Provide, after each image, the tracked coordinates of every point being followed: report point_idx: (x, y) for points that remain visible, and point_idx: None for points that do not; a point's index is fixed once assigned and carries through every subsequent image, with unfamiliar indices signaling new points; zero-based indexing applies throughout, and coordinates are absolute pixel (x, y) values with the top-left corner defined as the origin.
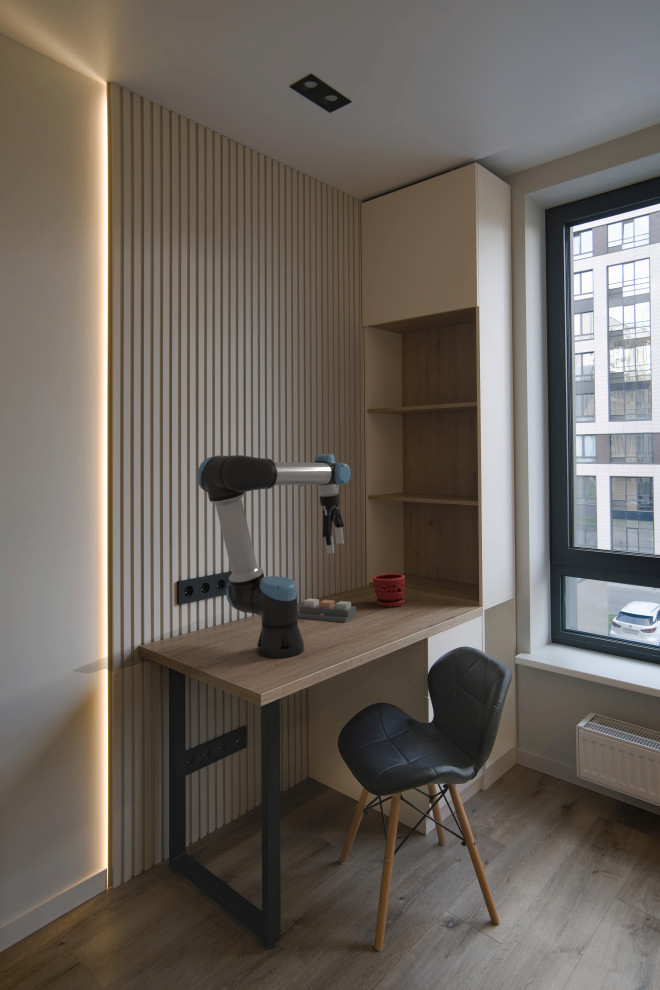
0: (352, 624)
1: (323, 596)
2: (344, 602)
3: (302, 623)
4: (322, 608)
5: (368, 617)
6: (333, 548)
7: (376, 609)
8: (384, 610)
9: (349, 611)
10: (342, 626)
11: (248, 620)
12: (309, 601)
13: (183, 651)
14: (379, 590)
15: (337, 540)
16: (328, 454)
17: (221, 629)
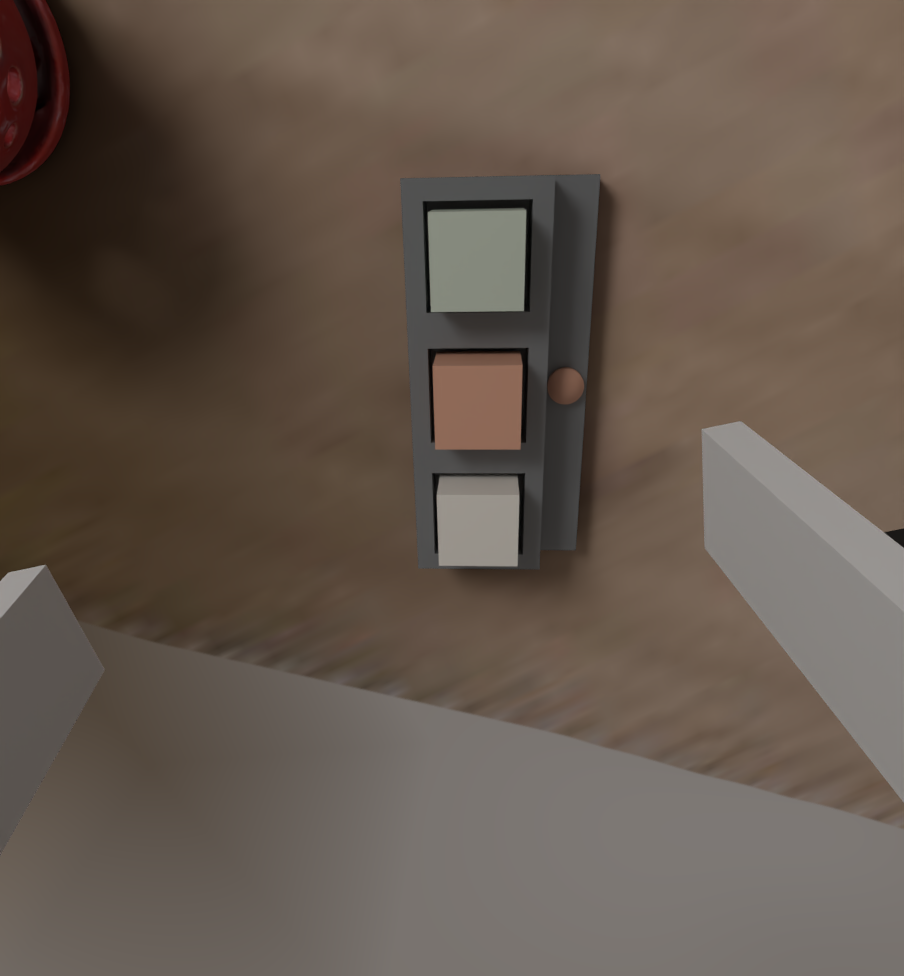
0: (629, 96)
1: None
2: (463, 259)
3: (689, 445)
4: (542, 403)
5: (404, 61)
6: (774, 460)
7: (164, 108)
8: (158, 23)
9: (526, 176)
10: (699, 148)
11: (699, 726)
12: (518, 525)
13: None
14: (7, 93)
15: (64, 701)
16: None
17: None
